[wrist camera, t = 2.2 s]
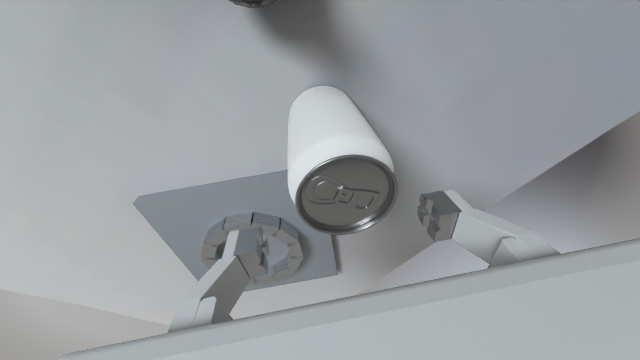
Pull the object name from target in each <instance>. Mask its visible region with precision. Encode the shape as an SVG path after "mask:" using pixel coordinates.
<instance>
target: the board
mask: <svg viewBox="0 0 640 360" xmlns="http://www.w3.org/2000/svg"><path fill="white" fill-rule="evenodd" d="M133 205H134V206H135V207H136V208H137V209H138V210H139V212H140V213H141V214H142V215H143V216H144V218H145V219H146V220H147V221H148V222H149V223H150V225H151V226H152V227H153V228H154V229H155V230H156V232H157V233H158V234H159V235H160V236H161V238H162V239H163V240H164V241H165V242H166V243H167V245H168V246H169V247H170V248H171V249H172V251H173V252H174V253H175V254H176V255H177V256H178V258H179V259H180V260H181V261H182V262H183V263H184V265H185V266H186V267H187V268H188V269H189V271H190V272H191V273H192V274H193V275H194V276H195V278H196V279H197V280H198V281H199V280H200V279H201V278H202V277H203V276H204V275H205V274H206V273H207V272H208V270H209V269H208V268H207V267H206V265H205V264H204V263H203V261H202V260H201V254H202V248H203V243H204V240H205V237H206V235H207V232H208V230H209V229H210V228H211V227H213V226H214V225H215V224H217V223H218V222H219V221H221V220H222V219H223V218H225V217H226V218H227V216H231V215H237V214H243V213H248V212H253V214H254V212H258V213H263V214H268V215H273V216H278V217H280V218H283V219H284V220H285V221H287V222H288V223H289V224H291V225H292V226H293V227H295V228H296V229H297V230H298V231H299V234H300V238H301V241H302V245H303V259H302V261H301V263H300V265H299V266H298V268H297V270H296V271H295V272H294V273H292V274H291V275H289V276H287V277H285V278H284V279H282V280H280V281H278V282H273V283H267V284H261V285H256V284H255V285H247V286H246V287H245V289H244V291H250V290H256V289H261V288H267V287H273V286H278V285H284V284H289V283H295V282H301V281H306V280H312V279H317V278H323V277H329V276H334V275H338V274H337V268H336V262H335V256H334V250H333V244H332V238H331V234H325V233H322V232H319V231H316V230H314V229H312V228H311V227H309V226H308V225H306V224H305V223H304V222H303V221H302V219H301V218H300V216H299V215H298V212H297V210H296V205H295V204H294V202H293V200H292V198H291V196H290V193H289V188H288V170H286V171H280V172H274V173H269V174H263V175H257V176H252V177H246V178H240V179H234V180H229V181H223V182H217V183H212V184H206V185H200V186H195V187H189V188H183V189H178V190H172V191H166V192H161V193H155V194H149V195H144V196H139V197H138V198H137V199H136V200H135V202H134V203H133ZM264 236H266V238H267V240H268V244H269V255H268V257H267V258H266V259H267V261H268V265H274V264H275V263H277V262H279V261H280V260H282V259H283V258H285V257H286V256H287V254H288V252H289V249H288V246H287V245H285V244H284V243H282V242H281V241H279V240H278V239H276V238H275V237H273V236H268V235H264ZM226 241H227V240H225V241H224V242H222V243H221V244H220V245H218V247H219V249H220V250H221V252H222V254H223V253H224V249H225V245H226ZM244 291H243V292H244Z"/></svg>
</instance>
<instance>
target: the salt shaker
mask: <svg viewBox="0 0 640 360" xmlns="http://www.w3.org/2000/svg"><path fill="white" fill-rule="evenodd" d="M229 1H231V2H233V3H235V4H236V5H240V6H244V7H248V8H257V7H264V6H267V5H269V4H271V3H274V2H275V1H276V0H229Z"/></svg>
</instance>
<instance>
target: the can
mask: <svg viewBox="0 0 640 360" xmlns="http://www.w3.org/2000/svg"><path fill="white" fill-rule="evenodd" d="M288 188H289V193H290V196H291V198H292V200H293V202H294V204H295V205H296V210H297V212H298V215H299V216H300V218H301V219H302V221H303V222H304V223H305V224H306V225H308V226H309V227H311V228H312V229H314V230H316V231H319V232H322V233H325V234H331V235H346V234H352V233H356V232H360V231H362V230H365V229H367V228H369V227H371V226H373V225H375V224H376V223H377V222H379V221H380V220H381V219H382V218H384V217H385V216H386V215H387V213H388V212H389V211H390V209H391V208H392V206H393V204H394V202H395V200H396V196H397V181H396V178H395V176H394V166H393V162H392V159H391V157H390V155H389V153H388V151H387V150H386V148H385V146H384V145H383V144H382V142H381V141H380V139H379V138H378V136H377V135H376V134H375V132H374V131H373V129H372V128H371V127H370V125H369V124H368V123H367V121H366V120H365V118H364V117H363V116H362V114H361V113H360V112H359V110H358V109H357V107H356V106H355V105H354V103H353V102H352V101H351V99H350V98H349V97H348V96H347V95H346V94H345V93H344V92H342V91H341V90H339V89H337V88H334V87H330V86H317V87H313V88H310V89H308V90H306V91H305V92H303V93H302V94H301V95H300V96H298V97H297V99H296V100H295V101H294V102H293V104H292V106H291V109H290V113H289V124H288Z"/></svg>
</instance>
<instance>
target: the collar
mask: <svg viewBox="0 0 640 360" xmlns="http://www.w3.org/2000/svg"><path fill="white" fill-rule="evenodd" d="M255 226H262V228H263V230H264V231H263V235H268V236H273V237H275V238H276V239H278V240H279V241H281V242H282V243H284V244H285V245H287V246H288V249H289V252H288V254H287V256H286V257H285V258H283V259H282V260H280V261H279V262H277V263H275V264H274V265H268V273H267V275H264V276H259V277H255V278H250V281H249V283H248V284H247V285H255V284H256V285H261V284H267V283H273V282H278V281H280V280H282V279H284V278H285V277H287V276H289V275H291V274H292V273H294V272H295V271H296V270H297V268H298V266H299V265H300V263H301V261H302V259H303V245H302V241H301V238H300V234H299V231H298V230H297V229H296V228H295V227H293V226H292V225H291V224H289V223H288V222H287V221H285V220H284V219H283V218H280V217H278V216H273V215H268V214H263V213H258V212H254V214H253V212H248V213H243V214H237V215H231V216H227V218H226V217H225V218H223V219H222V220H221V221H219V222H218V223H217V224H215V225H214V226H213V227H211V228H210V229H209V230H208V232H207V235H206V237H205V240H204V243H203V248H202V254H201V260H202V261H203V263H204V264H205V265H206V267H207V268H208V269H210V268H211V267H212V266H213V265H214V264H215V263H216V262H217V261H218V260H219V259H222V256H223V254H222V252H221V250H220V249H219V247H218V245H220V244H221V243H222V242H224V241H225V240H227V238H228V234H229V232H230V231H232V230H239V229H243V228H249V227H255Z"/></svg>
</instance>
